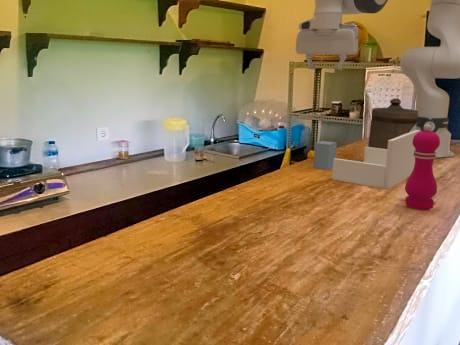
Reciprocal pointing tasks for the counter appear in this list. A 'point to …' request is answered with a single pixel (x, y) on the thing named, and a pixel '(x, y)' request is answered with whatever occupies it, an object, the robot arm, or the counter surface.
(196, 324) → the counter surface
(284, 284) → the counter surface
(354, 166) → the open box
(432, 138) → the pepper mill
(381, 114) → the wooden container
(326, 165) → the block
